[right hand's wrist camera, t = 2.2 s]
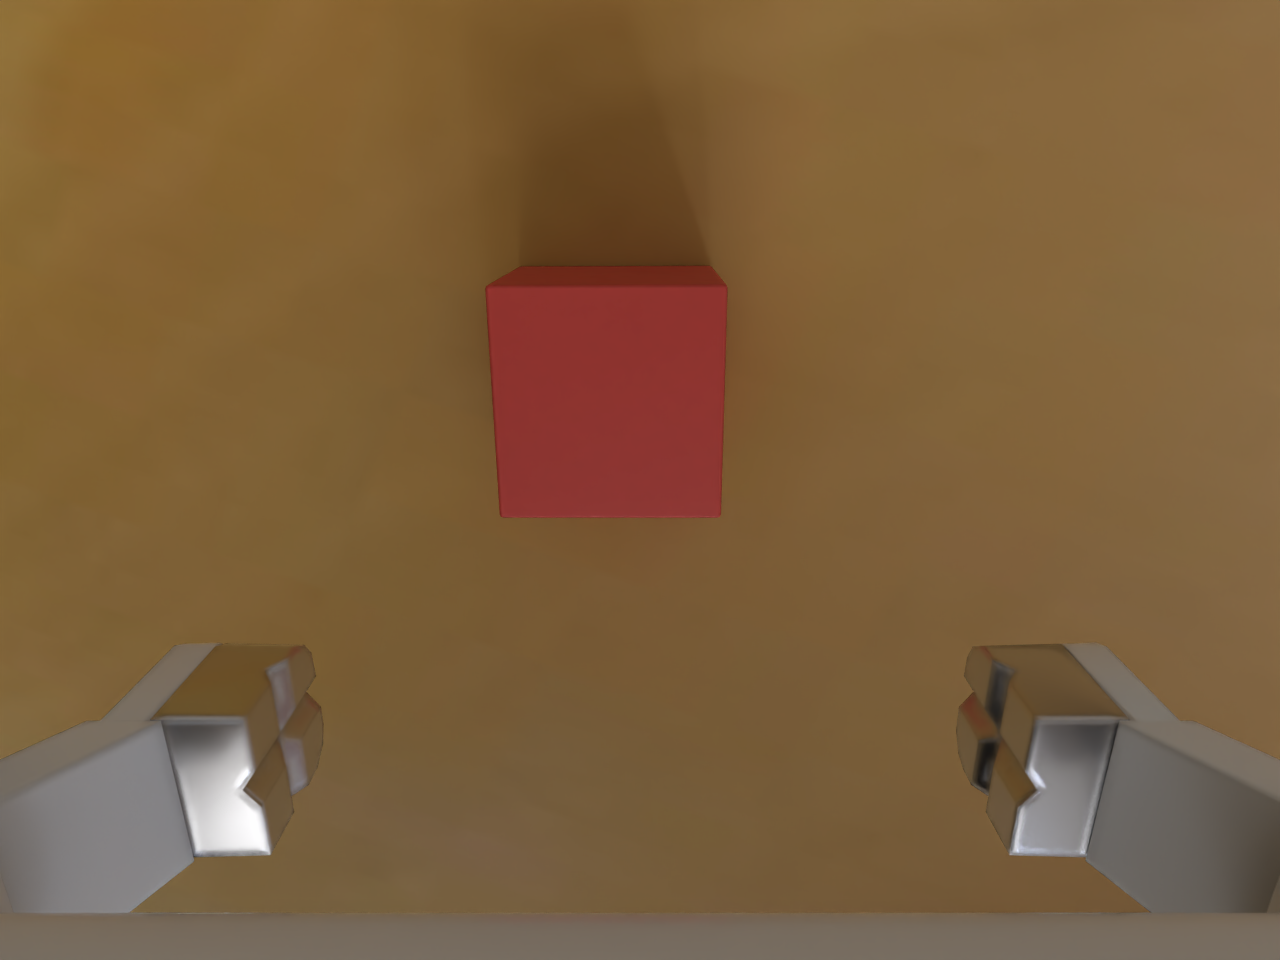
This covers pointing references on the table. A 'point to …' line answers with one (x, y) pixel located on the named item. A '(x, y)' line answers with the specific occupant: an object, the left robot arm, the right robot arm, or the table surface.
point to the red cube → (608, 391)
